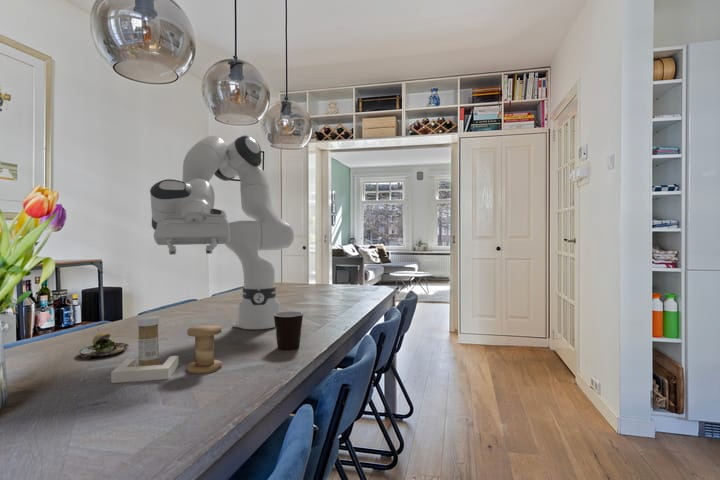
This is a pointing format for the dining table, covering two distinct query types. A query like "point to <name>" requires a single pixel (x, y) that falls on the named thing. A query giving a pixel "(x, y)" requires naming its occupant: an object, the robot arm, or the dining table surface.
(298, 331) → the dark brown cup
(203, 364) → the oak spool
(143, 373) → the notched board
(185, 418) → the dining table surface
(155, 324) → the sprinkles bottle
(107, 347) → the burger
